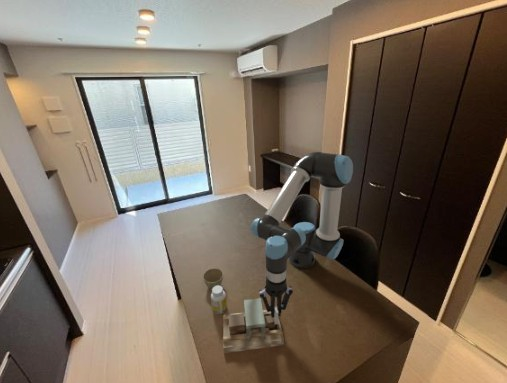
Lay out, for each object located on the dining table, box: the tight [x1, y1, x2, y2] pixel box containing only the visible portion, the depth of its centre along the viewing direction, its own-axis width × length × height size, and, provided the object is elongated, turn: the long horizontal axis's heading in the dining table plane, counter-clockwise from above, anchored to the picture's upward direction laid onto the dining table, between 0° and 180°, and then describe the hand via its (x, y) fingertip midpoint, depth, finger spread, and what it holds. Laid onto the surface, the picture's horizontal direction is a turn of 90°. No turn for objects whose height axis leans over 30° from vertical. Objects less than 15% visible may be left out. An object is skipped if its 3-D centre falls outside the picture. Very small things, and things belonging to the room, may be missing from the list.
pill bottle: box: [210, 285, 228, 315], centre depth 101 cm, size 6×6×12 cm
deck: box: [222, 297, 285, 354], centre depth 91 cm, size 23×14×12 cm, turn 97°
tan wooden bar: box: [229, 312, 276, 335], centre depth 91 cm, size 18×5×5 cm, turn 97°
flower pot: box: [202, 268, 224, 290], centre depth 115 cm, size 10×10×7 cm
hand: (275, 321), depth 92 cm, fingers closed
